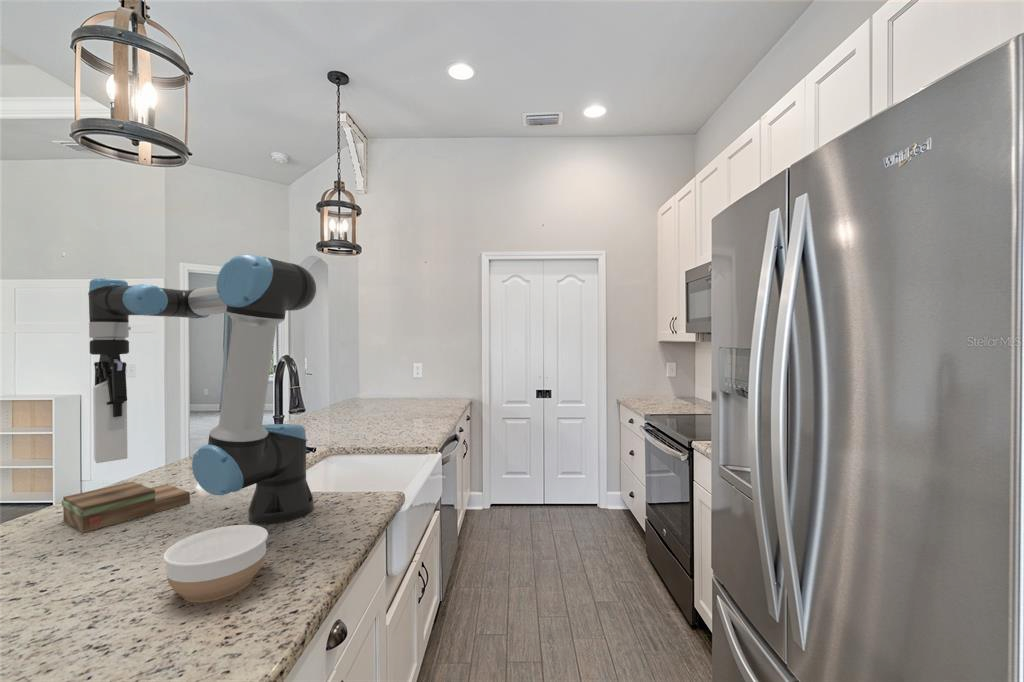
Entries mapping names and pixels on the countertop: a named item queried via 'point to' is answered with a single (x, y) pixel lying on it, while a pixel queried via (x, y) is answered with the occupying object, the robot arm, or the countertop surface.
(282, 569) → the countertop surface
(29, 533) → the countertop surface
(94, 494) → the stand
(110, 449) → the milk
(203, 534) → the bowl
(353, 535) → the countertop surface
